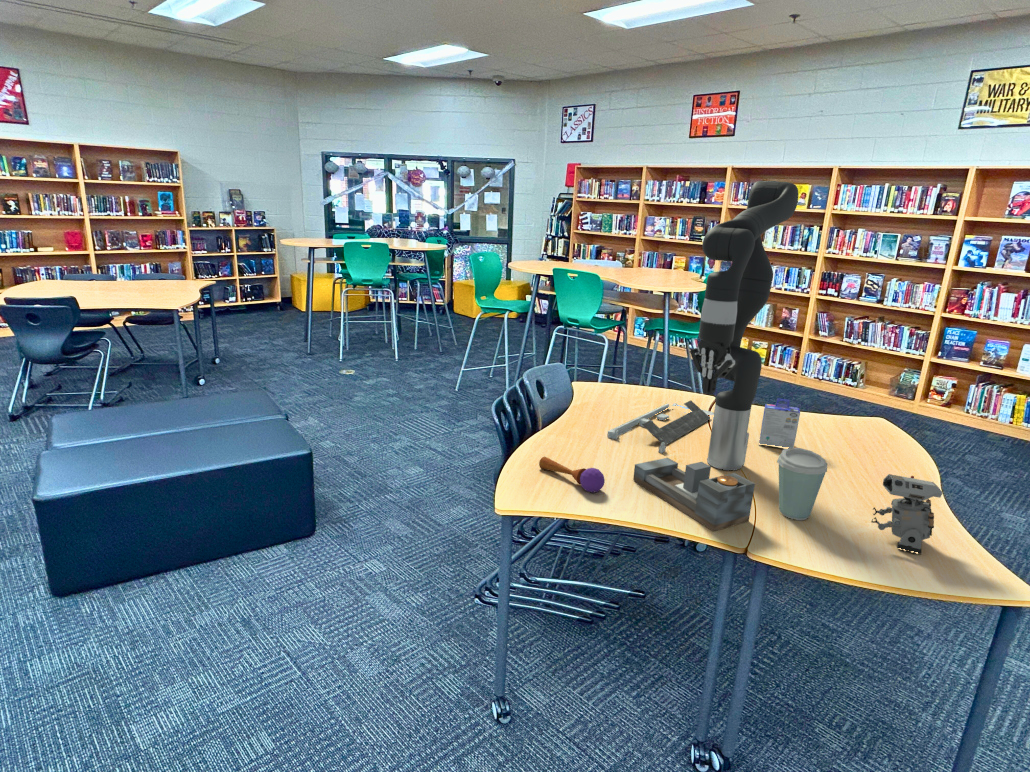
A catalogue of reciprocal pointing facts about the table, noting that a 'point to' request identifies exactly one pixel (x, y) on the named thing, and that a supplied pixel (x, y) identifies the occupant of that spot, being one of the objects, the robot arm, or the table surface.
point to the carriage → (694, 478)
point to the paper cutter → (669, 430)
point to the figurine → (909, 510)
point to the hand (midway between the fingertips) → (708, 393)
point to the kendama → (577, 474)
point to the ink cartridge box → (779, 424)
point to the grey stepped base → (713, 499)
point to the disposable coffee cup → (799, 481)
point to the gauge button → (727, 481)
